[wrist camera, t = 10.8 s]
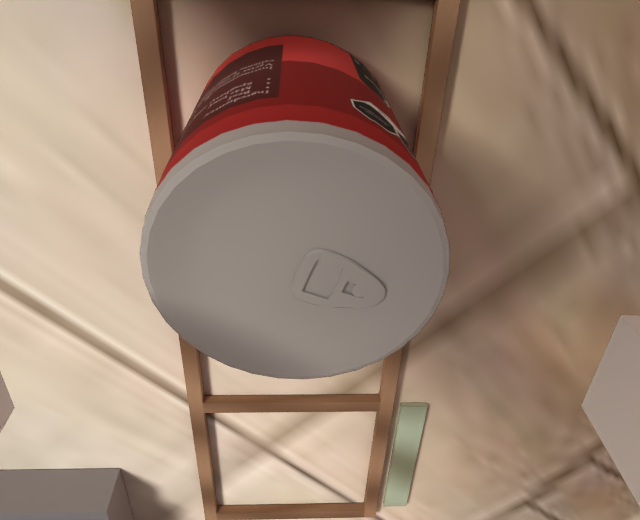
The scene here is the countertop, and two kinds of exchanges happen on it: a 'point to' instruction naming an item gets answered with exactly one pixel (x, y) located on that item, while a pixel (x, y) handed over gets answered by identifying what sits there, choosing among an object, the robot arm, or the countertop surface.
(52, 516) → the dome base
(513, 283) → the countertop surface
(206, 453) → the frame
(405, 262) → the canned food
